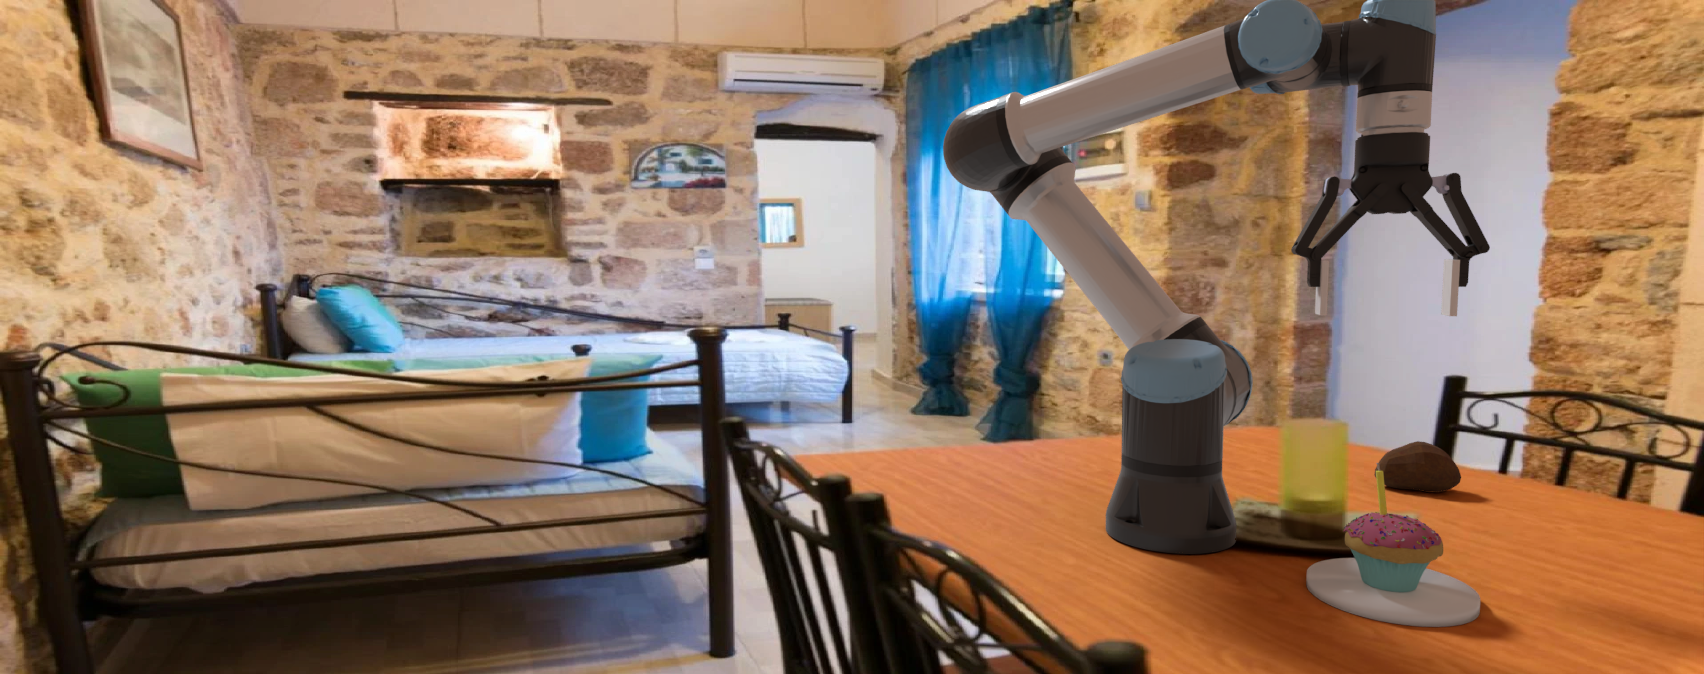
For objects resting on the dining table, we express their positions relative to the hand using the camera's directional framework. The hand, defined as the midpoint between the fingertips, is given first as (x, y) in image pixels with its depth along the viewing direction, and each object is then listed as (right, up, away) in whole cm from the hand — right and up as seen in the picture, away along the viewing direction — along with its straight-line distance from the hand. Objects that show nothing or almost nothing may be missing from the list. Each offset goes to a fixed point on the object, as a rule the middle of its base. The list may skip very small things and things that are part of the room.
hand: (1383, 315), depth 107 cm
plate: (-9, -29, -16) cm, 34 cm away
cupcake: (-9, -28, -16) cm, 33 cm away
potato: (+17, -25, +22) cm, 37 cm away
